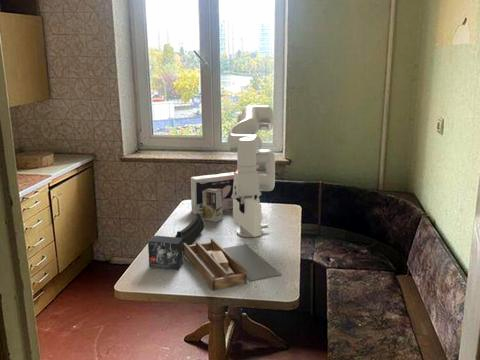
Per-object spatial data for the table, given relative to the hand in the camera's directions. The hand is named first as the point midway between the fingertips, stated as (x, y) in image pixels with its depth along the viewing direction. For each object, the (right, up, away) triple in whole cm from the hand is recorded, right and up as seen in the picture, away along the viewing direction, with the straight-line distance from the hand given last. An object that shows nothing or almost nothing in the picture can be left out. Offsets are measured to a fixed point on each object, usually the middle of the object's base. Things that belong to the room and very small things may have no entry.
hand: (246, 211), depth 197 cm
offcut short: (-11, -21, -1) cm, 24 cm away
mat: (+1, -22, +6) cm, 23 cm away
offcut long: (-11, -24, +1) cm, 26 cm away
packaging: (-15, -4, +75) cm, 77 cm away
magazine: (-26, -17, +26) cm, 40 cm away
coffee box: (-17, -8, +59) cm, 62 cm away
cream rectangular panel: (0, -7, +2) cm, 7 cm away
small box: (-33, -23, +2) cm, 41 cm away
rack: (-14, -24, 0) cm, 27 cm away
